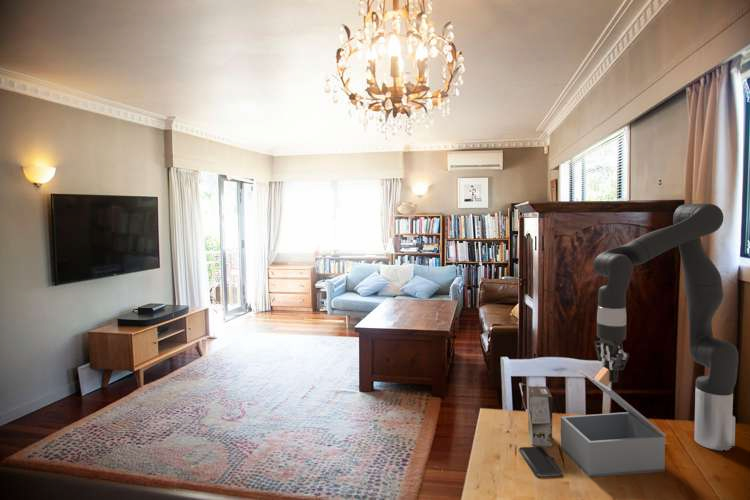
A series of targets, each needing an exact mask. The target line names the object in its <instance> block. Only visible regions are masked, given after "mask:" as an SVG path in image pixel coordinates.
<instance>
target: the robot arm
mask: <svg viewBox="0 0 750 500" xmlns="http://www.w3.org/2000/svg"><path fill="white" fill-rule="evenodd" d="M672 217H673V218H672V219H673V220H672V223H673V225H669V226H666V227H664V228H660V229H656V230H654V231H651V232H650V231H649V232H647V233H645V234H643V235H641V236H638V237H637V238H634V239H633V240H631V241H629V242H627V243H626V244H623V245H620V246H617V247H613V248H610V249H607V250H605V251H603V252H601V253H599V254H598V255H597V256H596V257H595V259H594V261H593V263H592V265H593V267H592V268H593V270H594V272H595V273H596V274H597V275H599V276H602V277H606V278H608V281H607V283H606V284H607V285H603V286H600V287H599V289H598V295H597V296H598V297H597V298H598V300H597V302H598V303H597V304H598V305H597V310H596V311H597V313H596V336H597V338H599V341H597V340H596V341H593V342H594V347H595V348H594V349H595V351H596V357H597V359H598V362H601V365H602V368H603V367H605V368H607V369H608V370H610V375H609V381H610V383H618V381H619V371H620V370H622V371H623V370H625V367H626V364H627V363H628V361H629V358H630V354H629V352H625V351H624V350H623V349H624V347H623V341H625V340H626V339H627V308H626V307H627V306H626V303H627V297H626V296H627V292H628V289H629V286H630V282H631V279H632V276H633V270H634V266H639V265H642V264H643V265H644V264H645V263H646V262H648V261H650V260H652V259H654V258H656V257H657V256H659V255H662V254H663V253H665V252H667V251H669V250H672V249H673V248H676V247H678V249H679V254H680V259H681V260H680V261H681V266H682V271H683V282H684V291H685V297H686V302H687V315H688V328H689V329H688V330H689V331H688V332H689V333H688V334H689V335H688V336H689V340H688V341H689V342H688V343H689V347H688V348H689V352H690V356H691V358H692V359H693V361H694V362H696V363H697V364H699V365H701V366H705V367H706V368H709V372H708V373H709V374H708V375H701V376H697V378H696V379H695V390H694V391H695V393H694V396H695V397H694V398H695V399H694V401H695V403H694V441H695V443H697V444H698V445H700V446H702V447H704V448H706V449H710V450H714V451H723V450H725V451H729V450H731V449H732V448H733V447H732V446H734V447H735V446H736V445H735V443H736V442H735V441H736V439H735V438H736V437H735V436H736V416H735V415H733V409H734V408H733V406H734V405H733V402H734V388H735V386H736V383H737V376H738V367H739V351H738V349H737V347H736V345H734V344H733V343H732V342H729V341H727V340H724V339H719V338H716V337H714V333H713V327H712V326H713V325H712V324H713V318H714V315H715V314H716V312H717V310H718V309H719V307H720V306H721V304H722V302H723V298H724V291H723V290H724V289H723V282H722V281H723V279H722V275H721V273H720V271H719V270H718V268H717V266H716V265H715V264H714V262H713V261H712V260H711V258H710V257H709V256H708V254H707V253H706V251H705V250H704V246H703V243H702V237H705V236H708V235H711V234H713V233H715V232H717V231H718V230H719V229H720V228H721V226H722V225H723V222H724V213H723V210H722V209H721V208H720V207H719V206H718V205H715V204H713V203H704V202H703V203H685V204H681V205H679V206H678V207H677V208H676V209H675V211H674V213H673V216H672ZM730 448H731V449H730ZM723 452H724V451H723Z"/></svg>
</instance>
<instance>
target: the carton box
mask: <svg viewBox="0 0 750 500" xmlns="http://www.w3.org/2000/svg"><path fill="white" fill-rule="evenodd" d="M560 448H561V450H563V451H564V452H565V454H567V456H568V457H569V458H570V459H571V460H572V461H573V462H574V463H575V464H576V465H577V466H578V467H579V468H580V469H581V470H582V471H583V472H584V474H585V475H587V477H588V478H598V477H609V476H610V477H611V476H622V475H624V476H625V475H635V474H637V475H638V474H648V473H661V472H665V468H666V467H665V461H666V460H665V457H666V456H665V455H666V453H665V452H666V436H663V435H662V434H660V433H659V432H657V431H656V430H654V429H653V428H651V427H650V426H648V425H647V424H645V423H644V422H643V421H641V420H640V419H638V418H637V417H635V416H634V415H632V414H631V413H629V412H628V411H626V412H623V411H622V412H611V413H600V414H599V413H597V414H583V415H582V414H580V415H568V416H567V415H566V416H560Z"/></svg>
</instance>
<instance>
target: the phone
mask: <svg viewBox="0 0 750 500" xmlns="http://www.w3.org/2000/svg"><path fill="white" fill-rule="evenodd" d="M518 451H519V453H520V455H521V456H522V458H523V460H524V461H525V463H526V464H527V466H528V468H529V469H530V470H531V472H532V473H533V476H535V477H536V478H538V479H541V478H542V479H544V478H562V477H563V474H564V473H563V471H562V469H561V468H560V466H558V464H557V463H556V462H555V460H554V459H553V458H552V456H551V455H550V454H549V453H548V451H547V450H546V448H545V447H544V446H522V447H521V446H520V447H519V448H518Z"/></svg>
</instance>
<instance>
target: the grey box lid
mask: <svg viewBox="0 0 750 500" xmlns="http://www.w3.org/2000/svg"><path fill="white" fill-rule="evenodd" d="M578 371H579V373H581V375H583V376H584V377H585V378H587V379H588V380H589V381H590V382H591V383H593V384H594V385H595V386H597V387H598V388H599V389H600V390H601V391H602V392H604V394H606V395H607V396H608V397H610V398H611V400H613V401H615V403H617V404H618V405H619V406H620V407H622V408H623V409H624V410H625V411H626V412H629V413H630V414H632V415H633V416H635V417H636V418H638V419H639V420H641V421H642V422H644V423H645V424H646V425H648V426H649V427H651V428H652V429H654V430H655V431H657V432H658V433H660V434H661V435H663V436H664V437H666V436H667V434H666V433H665V432H663V431H662V429H660V428H658V427H657V426H656V425H655V424H653V423H652V422H651V421H650V420H649V419H648V418H646V416H644V415H643V414H641V412H639V411H638V410H637V409H635V407H633V406H632V405H631V404H629V403H628V402H627V401H626V400H625V399H623V398H622V397H621V396H620V395H619V394H618V393H617V392H615V391H614V390H613V389H611V388H610V387H609V385H610V384H611V382H610V381H609V375H610V370H608V369H607V368H605V367H603V366H602V368H601V369H600V370H599V372H598V373H597V374H596V375H595V376H594V377H593V376H591V375H589V374H588V373H586V372H585V371H583V370H582V369H579V370H578Z"/></svg>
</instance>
